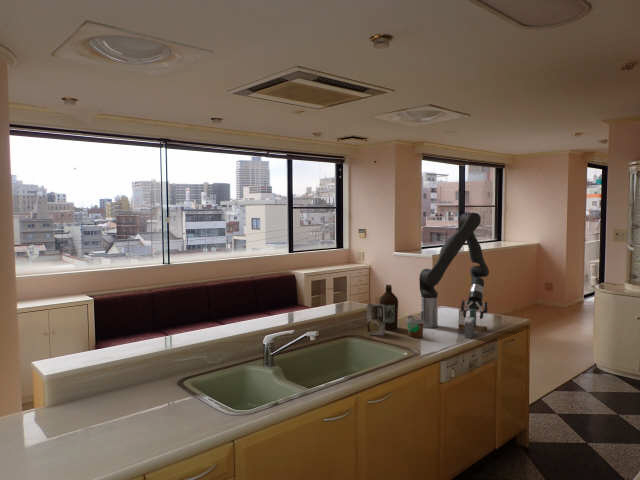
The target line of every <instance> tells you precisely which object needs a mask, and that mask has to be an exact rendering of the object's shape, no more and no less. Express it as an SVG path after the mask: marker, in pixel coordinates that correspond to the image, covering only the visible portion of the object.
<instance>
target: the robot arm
mask: <svg viewBox="0 0 640 480" xmlns="http://www.w3.org/2000/svg"><path fill="white" fill-rule="evenodd" d="M481 222H482V219H481V216H480V214H479V212H478V213H477V212H464V213H462V214H461V215H460V216H459V223H460V226H461V227H460V229H459V230H457V231H456V232H455V233H454V234H453V235H451V236H450V237H449V238H447V240H446V241H445V242H444V244H443V245H442V247H441V248H440V250H439V256H438V259H437V262H436V263H435V264H434V266H433V267H432V268H431V269H430V268H424V269H422V270H421V271H420V273H419V291H420V295H421V296H420V297H421V298H420V299H421V301H420V303H421V304H420V307H421V309H420V320H423V321H424V324H423V328H427V329H434V328H435V329H436V328H437V327H438V323H439V322H438V321H439V317H438V312H439V310H438V307H439V305H438V300H439V299H438V297H439V296H438V295H439V294H438V292H437V290H436V289H435V286H437V285H438V284H439V283H440V281H441V280H442V278H443V276H444V275H445V272H446V271H447V270H448V267H449V266H450V265H451V263H452V262H453V260H454V259H455V258H456V256H457V255H458V253H459V252H460V251H461V249H462V248H463V246H464V245H465V244H466V243H467V247H468V251H469V257H470V261H471V262H472V263H473V264H474V263H476V264H478V265H473V266H471V267H470V270H469V272H470V278H471V284H470V289H469V293H468V300H467V301H465V300H463V299H462V301H461V305H460V311H461V312H463V313H462V316H463V318H464V319H465V318H466V319H467V312H470V309H476V311H477V310H478V311H479V312H480V313H479V314H480V315H479V319H480V320H482V319H483V318H484V315H485V314H488V302H487V301H485V302H483V298H484V286H485V280H484V279H483V278H486V277H488V276H489V275H490V274H489V273H490V271H489V268H488V265H487V263H486V261H485V259H484V255H483V250H482V247H481V244H480V242H479V241H478V239H477V237H476V235H475V230H477V229H478V228H479V226H480V224H481ZM483 307H484V309H483Z"/></svg>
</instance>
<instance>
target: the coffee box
mask: <svg viewBox="0 0 640 480" xmlns="http://www.w3.org/2000/svg"><path fill="white" fill-rule="evenodd" d="M366 318H367V319H366V322H367V323H366V325H367V326H366V327H367V329H366V331H367V335H368V336H384V335H385V334H386V330H385V309H384V304H380V303H368V304H367V305H366Z"/></svg>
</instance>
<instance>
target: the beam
mask: <svg viewBox="0 0 640 480" xmlns="http://www.w3.org/2000/svg"><path fill="white" fill-rule="evenodd" d="M469 317H474V331H479V332H488V326H485V325H477V310H476V309H470V310H469ZM458 329H459V330H465V323H464V324H462V323H459V324H458Z"/></svg>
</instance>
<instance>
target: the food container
mask: <svg viewBox="0 0 640 480" xmlns="http://www.w3.org/2000/svg"><path fill="white" fill-rule="evenodd" d="M405 322H406V323H407V331H408V332H407V334H408V335H407V336H408V337H409V338H412V339H423V336H424V335H423V334H424V327H423V324H424V321H423V320H421V319H420V318H417V317H413V315H408V316H406V320H405Z"/></svg>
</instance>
